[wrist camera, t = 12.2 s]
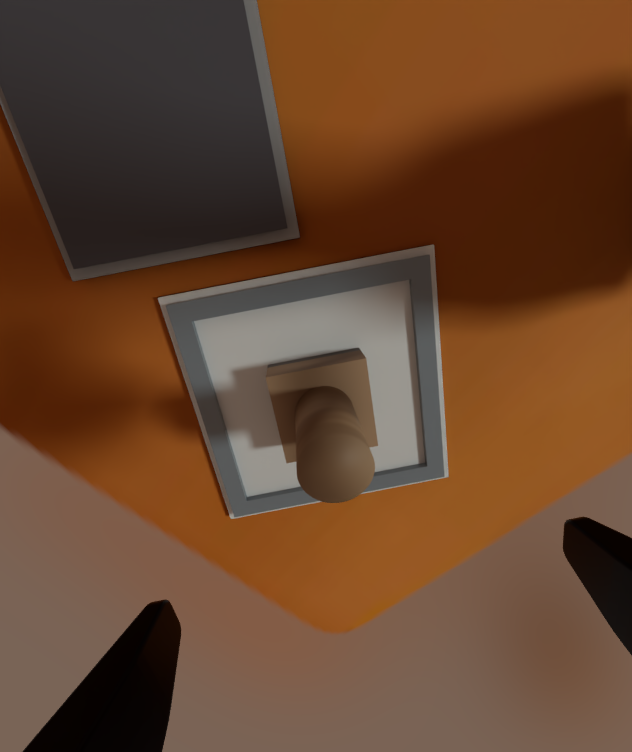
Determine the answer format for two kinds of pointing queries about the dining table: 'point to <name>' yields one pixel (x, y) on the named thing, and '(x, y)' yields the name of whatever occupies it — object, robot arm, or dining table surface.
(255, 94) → the ink pad
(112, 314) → the dining table surface
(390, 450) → the print sheet
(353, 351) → the stamp
